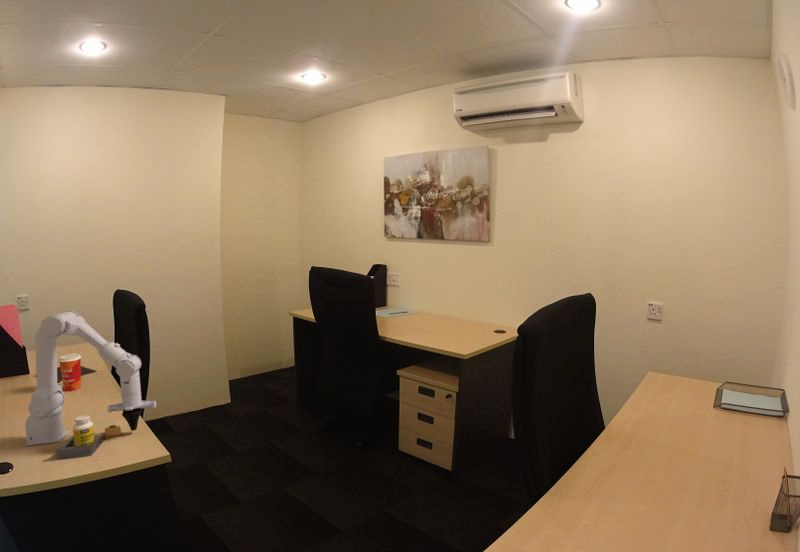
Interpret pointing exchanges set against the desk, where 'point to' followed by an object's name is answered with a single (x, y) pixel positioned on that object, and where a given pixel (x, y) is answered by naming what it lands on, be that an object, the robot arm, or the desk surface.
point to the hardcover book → (84, 372)
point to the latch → (112, 430)
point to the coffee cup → (71, 371)
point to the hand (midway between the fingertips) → (134, 429)
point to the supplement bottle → (83, 431)
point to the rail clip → (79, 448)
